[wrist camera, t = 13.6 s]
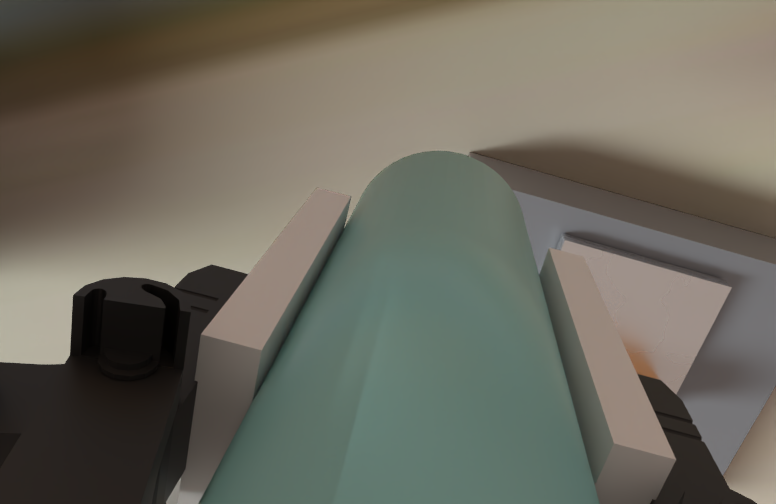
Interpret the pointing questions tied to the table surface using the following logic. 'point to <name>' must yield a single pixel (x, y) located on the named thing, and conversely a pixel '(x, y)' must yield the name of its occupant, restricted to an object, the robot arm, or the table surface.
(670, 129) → the table surface
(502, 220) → the plug peg
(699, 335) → the shutter
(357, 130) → the table surface
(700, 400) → the socket
